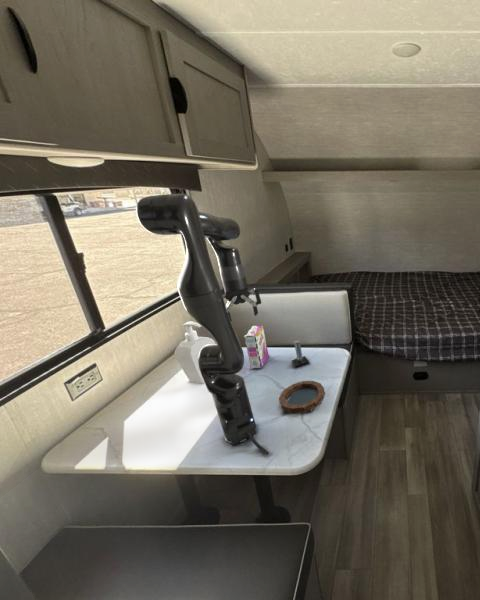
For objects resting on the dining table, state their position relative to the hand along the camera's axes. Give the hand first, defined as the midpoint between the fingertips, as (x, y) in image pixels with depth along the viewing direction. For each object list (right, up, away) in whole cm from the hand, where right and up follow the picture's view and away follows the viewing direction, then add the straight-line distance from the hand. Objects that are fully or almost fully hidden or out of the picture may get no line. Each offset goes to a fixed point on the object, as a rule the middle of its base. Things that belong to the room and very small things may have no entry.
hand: (243, 318), depth 116 cm
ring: (+22, -30, +1) cm, 37 cm away
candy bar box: (-6, -22, +27) cm, 36 cm away
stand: (+14, -22, +25) cm, 36 cm away
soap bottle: (-25, -27, +18) cm, 41 cm away
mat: (+22, -31, +1) cm, 38 cm away
